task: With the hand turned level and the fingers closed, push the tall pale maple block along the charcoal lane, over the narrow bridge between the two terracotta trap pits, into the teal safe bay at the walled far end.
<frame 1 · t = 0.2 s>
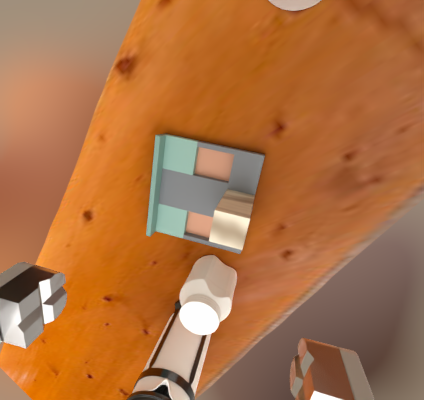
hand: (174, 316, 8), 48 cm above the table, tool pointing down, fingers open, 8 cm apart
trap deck: (204, 193, 58), on the table
maple block: (238, 205, 55), point 2 cm above the table, touching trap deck
coffee press: (192, 324, 71), on the table
jar: (214, 274, 65), on the table
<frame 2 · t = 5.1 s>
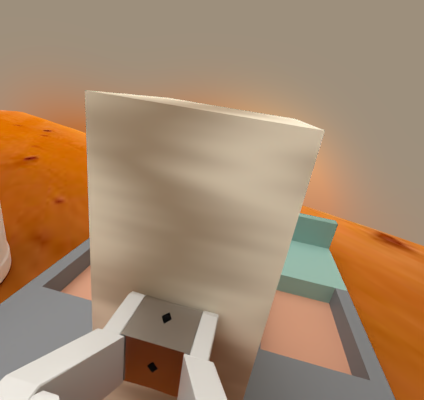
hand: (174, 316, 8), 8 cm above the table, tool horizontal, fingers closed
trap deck: (205, 298, 21), on the table
maple block: (180, 362, 14), point 2 cm above the table
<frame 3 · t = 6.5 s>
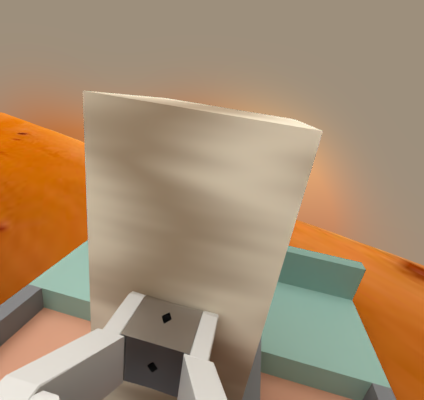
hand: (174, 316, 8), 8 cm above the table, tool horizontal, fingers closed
maple block: (179, 363, 14), point 2 cm above the table
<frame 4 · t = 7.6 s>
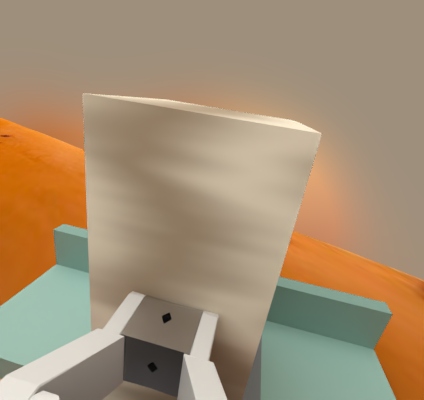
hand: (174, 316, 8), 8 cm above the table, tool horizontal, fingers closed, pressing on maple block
maple block: (179, 364, 14), point 2 cm above the table, touching gripper, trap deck
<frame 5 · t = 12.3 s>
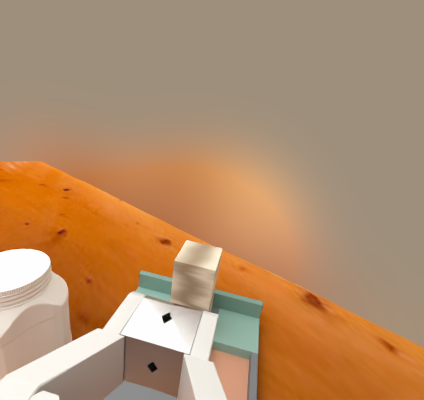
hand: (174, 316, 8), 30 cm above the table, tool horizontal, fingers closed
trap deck: (178, 359, 38), on the table
maple block: (190, 318, 43), point 2 cm above the table, touching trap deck
jar: (25, 357, 36), on the table
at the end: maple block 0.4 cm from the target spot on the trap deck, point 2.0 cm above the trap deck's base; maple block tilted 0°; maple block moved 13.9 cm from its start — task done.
